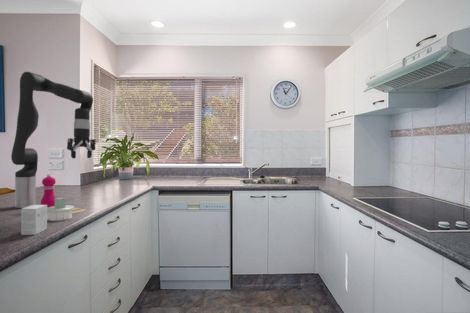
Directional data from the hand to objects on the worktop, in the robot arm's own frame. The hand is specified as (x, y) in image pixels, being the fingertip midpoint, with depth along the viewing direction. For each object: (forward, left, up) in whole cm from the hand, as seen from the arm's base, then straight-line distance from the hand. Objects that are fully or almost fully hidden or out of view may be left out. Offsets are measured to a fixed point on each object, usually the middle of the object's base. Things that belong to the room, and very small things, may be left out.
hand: (81, 158), depth 148 cm
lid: (+8, -16, -24) cm, 30 cm away
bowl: (+8, -16, -29) cm, 34 cm away
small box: (+18, -32, -29) cm, 47 cm away
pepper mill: (-14, -9, -29) cm, 34 cm away
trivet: (-2, -5, -29) cm, 29 cm away
